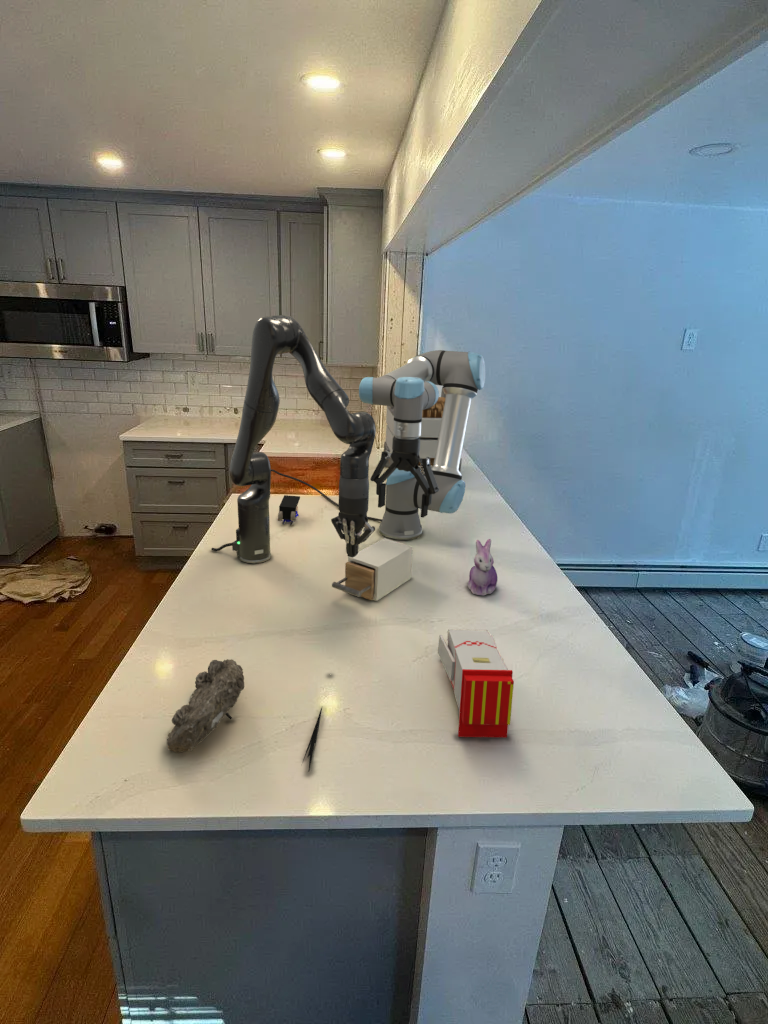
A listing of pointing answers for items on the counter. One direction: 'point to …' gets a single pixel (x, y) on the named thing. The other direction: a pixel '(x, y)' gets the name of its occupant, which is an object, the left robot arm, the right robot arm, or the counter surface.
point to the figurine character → (288, 509)
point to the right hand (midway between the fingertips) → (402, 511)
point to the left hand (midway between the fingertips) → (352, 556)
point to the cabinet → (386, 564)
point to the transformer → (428, 430)
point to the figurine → (483, 571)
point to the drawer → (357, 580)
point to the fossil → (206, 705)
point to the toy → (478, 682)
